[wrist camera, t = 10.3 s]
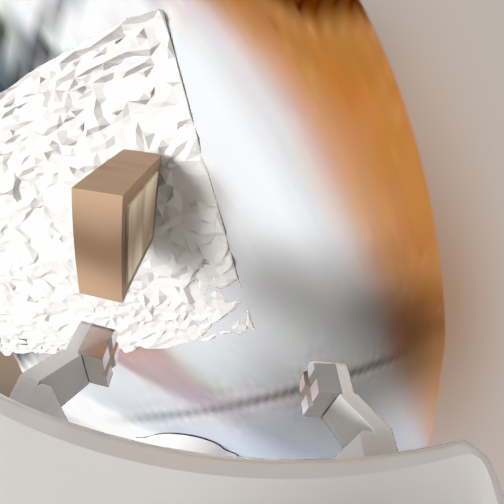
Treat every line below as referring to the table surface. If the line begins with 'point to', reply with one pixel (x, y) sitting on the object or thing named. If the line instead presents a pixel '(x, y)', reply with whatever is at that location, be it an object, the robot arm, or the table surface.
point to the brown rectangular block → (114, 222)
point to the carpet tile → (82, 164)
